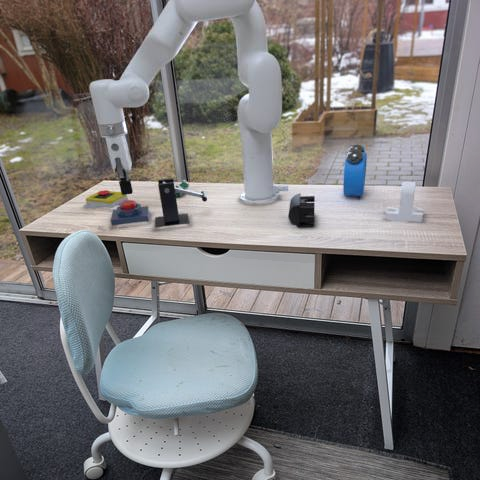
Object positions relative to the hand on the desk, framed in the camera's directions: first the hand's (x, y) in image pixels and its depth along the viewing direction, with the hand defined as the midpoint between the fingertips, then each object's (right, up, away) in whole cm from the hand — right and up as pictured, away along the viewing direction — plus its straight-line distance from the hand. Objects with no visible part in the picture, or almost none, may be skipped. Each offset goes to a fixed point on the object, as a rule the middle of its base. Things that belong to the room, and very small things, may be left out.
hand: (127, 193), depth 142 cm
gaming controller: (+13, +5, +23) cm, 27 cm away
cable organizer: (+80, -9, -8) cm, 81 cm away
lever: (+17, -2, -4) cm, 18 cm away
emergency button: (-11, +1, +19) cm, 22 cm away
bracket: (+14, -9, 0) cm, 16 cm away
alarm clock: (+70, +2, +10) cm, 71 cm away
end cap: (+52, -10, -6) cm, 53 cm away
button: (0, -4, +2) cm, 5 cm away
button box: (0, -7, +5) cm, 9 cm away
